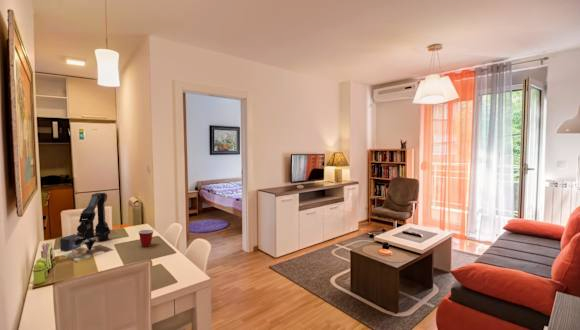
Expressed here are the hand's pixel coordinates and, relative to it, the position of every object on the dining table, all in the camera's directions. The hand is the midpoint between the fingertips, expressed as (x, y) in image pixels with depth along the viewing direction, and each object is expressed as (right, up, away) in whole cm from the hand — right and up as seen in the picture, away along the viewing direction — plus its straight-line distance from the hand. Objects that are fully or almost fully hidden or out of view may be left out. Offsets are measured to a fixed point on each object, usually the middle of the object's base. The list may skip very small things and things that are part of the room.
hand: (89, 250), depth 197 cm
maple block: (-3, -2, -6) cm, 7 cm away
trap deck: (0, -3, 0) cm, 3 cm away
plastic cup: (+32, -2, +17) cm, 36 cm away
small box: (-18, -3, +6) cm, 19 cm away
